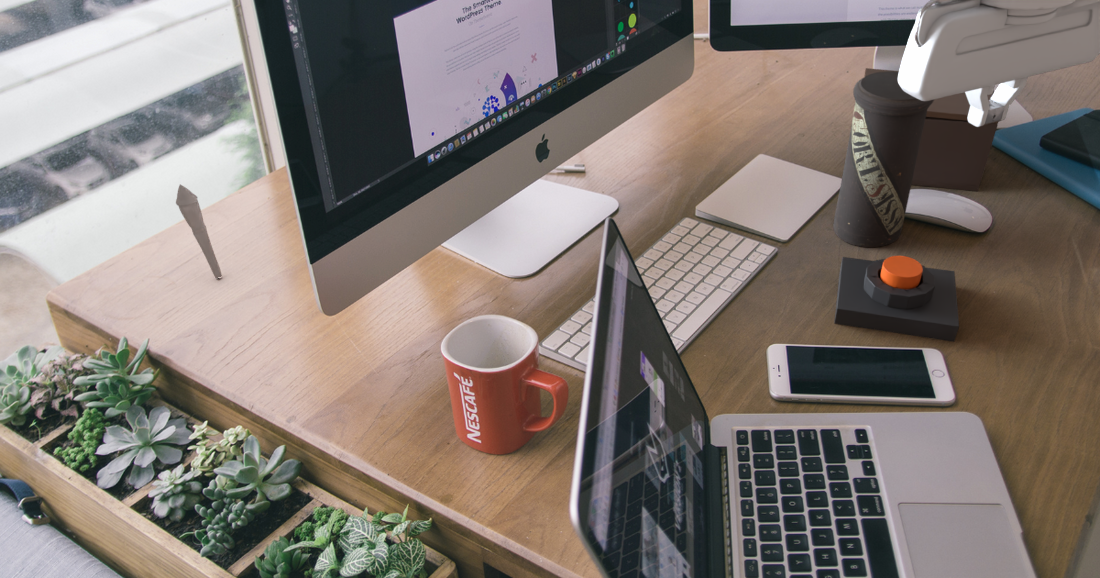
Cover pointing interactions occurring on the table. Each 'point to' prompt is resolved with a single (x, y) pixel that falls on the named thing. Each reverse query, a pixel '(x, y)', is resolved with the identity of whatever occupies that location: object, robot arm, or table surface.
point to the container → (879, 161)
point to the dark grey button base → (897, 301)
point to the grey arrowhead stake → (197, 225)
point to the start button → (901, 272)
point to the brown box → (952, 154)
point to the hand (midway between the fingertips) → (985, 121)
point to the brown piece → (944, 103)
